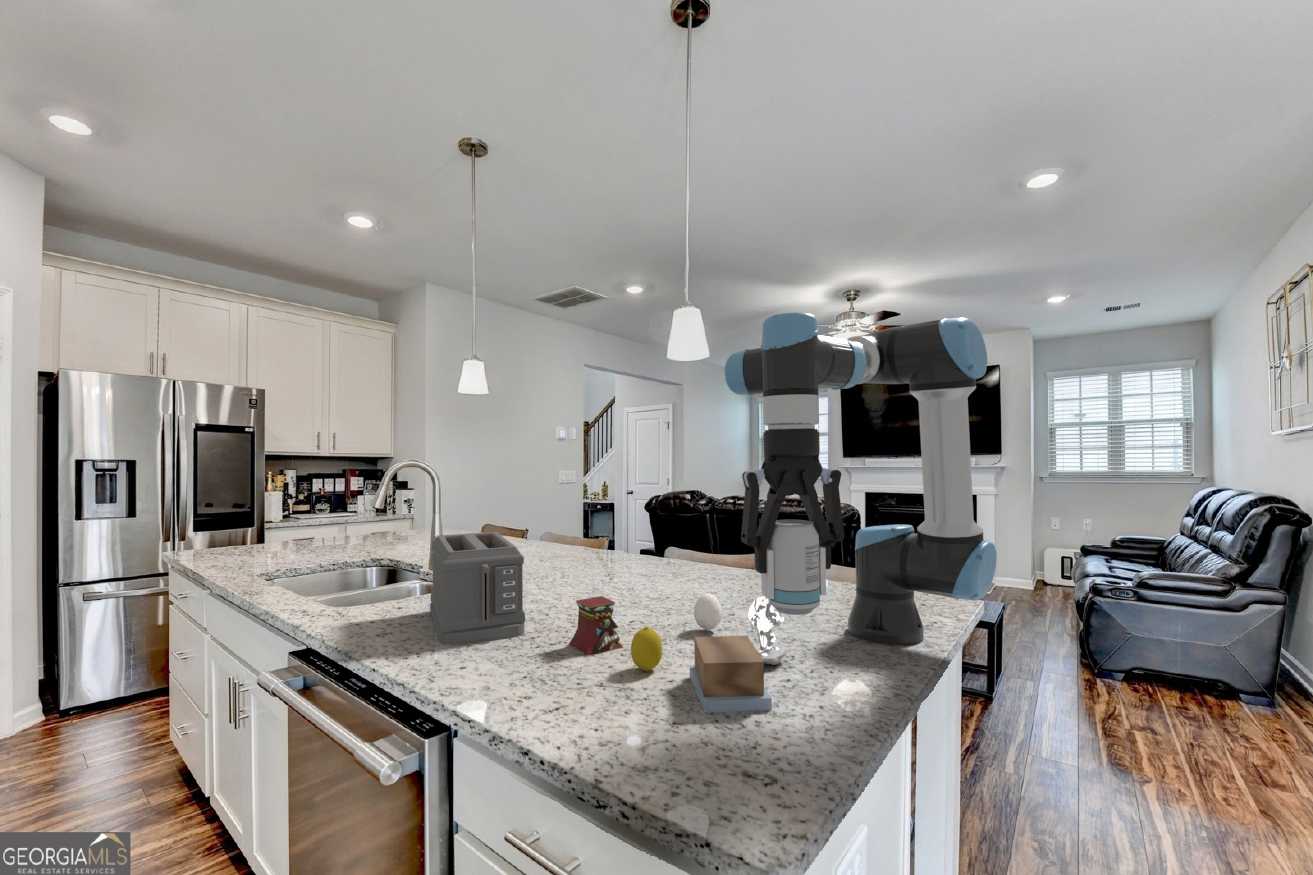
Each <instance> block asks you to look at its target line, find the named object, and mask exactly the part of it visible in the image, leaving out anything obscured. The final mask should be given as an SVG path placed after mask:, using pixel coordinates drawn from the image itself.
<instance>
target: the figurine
mask: <svg viewBox="0 0 1313 875" xmlns="http://www.w3.org/2000/svg"><path fill="white" fill-rule="evenodd" d="M781 614H782V613H781V612H779V611H777V610H775V607H773V606H772V605H771V604H770V603H769V602H768V598H767V597H765V596H761V597H756V598H755V599H754V600H753V602H752V604H751V605H750V607H749V609H748V620H749V621H750V627H751V631H752V633H753V632H755V633H756V634H757V637H758V642H761V643H760V645H759V648H758V649H756V650H757V652H758V654H759V655H760V657H761V658H762V660H763V661H764V665H769V664H771V666H773V665H774V666H775V665H778V664H779V663H780V662H781V661H782V659H783V658H784V657H785V656H786V654H787V647H786V646H784V645H783V644H780V643H775V641H776V640H777V639H776V635H775V634H774V631H773V630H772V627H773V628H776V627H777V628H778V629H780V625H781V624H782V623H783V622H784V621H785V618H784V616H782V615H781ZM753 627H754V628H753ZM753 630H754V631H753Z"/></svg>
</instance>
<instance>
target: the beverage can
mask: <svg viewBox="0 0 1313 875" xmlns="http://www.w3.org/2000/svg"><path fill="white" fill-rule="evenodd" d="M768 548H769V549H771V550H773V551H774V599H768V602H769V603H770V604H771V605H772V606H773V608H774V609H776V610H775V611H777V612H778V611H779V612H781V614H785V615H791V616H792V615H793V616H801V615H808V614H810V613H812V612H813V610H815V609H816V608H818V607H819V606H820V604H821V595H820V579H819V535H818V533H817V531H816V530H815V528H814V526H813V522H811V521H809V520H803V519H777V520H776V523H775V526H774V530H773V533H772V536H771V539H770V542H769V545H768Z"/></svg>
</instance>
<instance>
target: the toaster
mask: <svg viewBox="0 0 1313 875" xmlns="http://www.w3.org/2000/svg"><path fill="white" fill-rule="evenodd" d="M431 551H432V591H431V592H430V606H429V610H430V612H429V613H430V618H431V620H432V624H433V626H434V631H435V633H436V637H437V638H438V642H439V643H440V644H442V645H446V646H447V645H448V646H452V645H463V644H470V643H477V642H478V643H479V642H487V641H495V640H496V641H497V640H504V639H511V638H513V639H514V638H517V637H521V636H523V635H524V634H525V622H526V614H525V610H524V609H523V608H524V606H523V603H524V600H523V598H524V597H523V595H524V594H523V591H524V590H523V578H524V577H523V565H524V563H525V559H524V558H525V557H524V555H523V554H522V553H521V551H519V549H518V547H517V546H516V545H515V544H514V543H512V542H510V541H509V540H508V539H506V538H505V537H504V536H502V535H501V534H500V533H499V532H497V531H486V532H484V531H483V532H474V533H473V532H472V533H456V534H443V535H437V536H436V538H435V539H434V540H433V541H432V543H431Z"/></svg>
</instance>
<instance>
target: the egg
mask: <svg viewBox="0 0 1313 875" xmlns="http://www.w3.org/2000/svg"><path fill="white" fill-rule="evenodd" d="M693 608H694V609H693V617H694V620H695V622H696V624H697V625H698V626H699V627H700V628H702V629H703V630H705V631H706V630H707V631H710V630H714V629H715V628H717V626H719V624H720V623H721V620H722V618H723V617H722V616H723V610H722V606H721V603H720V601H719V600H718V598H717V597H716V596H715V595H714V594H712V593H704V594H702V595H701V596H700V597H698V599H697V600H696V602H695V604H694V607H693Z"/></svg>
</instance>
